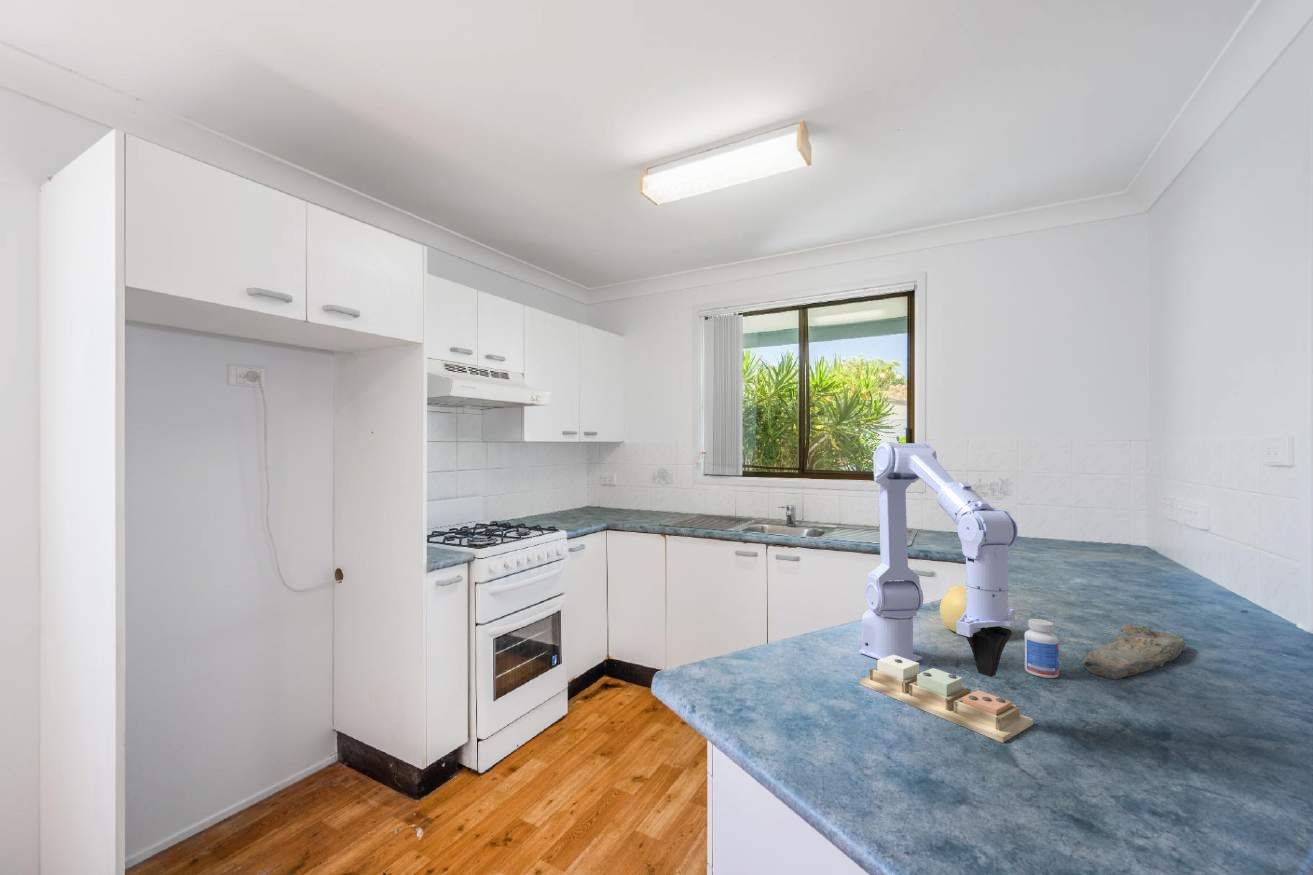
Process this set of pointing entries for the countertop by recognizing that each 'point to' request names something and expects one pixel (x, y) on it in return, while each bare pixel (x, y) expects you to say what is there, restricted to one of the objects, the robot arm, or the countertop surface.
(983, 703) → the tile three
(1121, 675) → the long grey stone
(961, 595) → the sculpture
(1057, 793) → the countertop surface
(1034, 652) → the pill bottle
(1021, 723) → the tile board
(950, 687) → the tile two
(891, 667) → the tile one
